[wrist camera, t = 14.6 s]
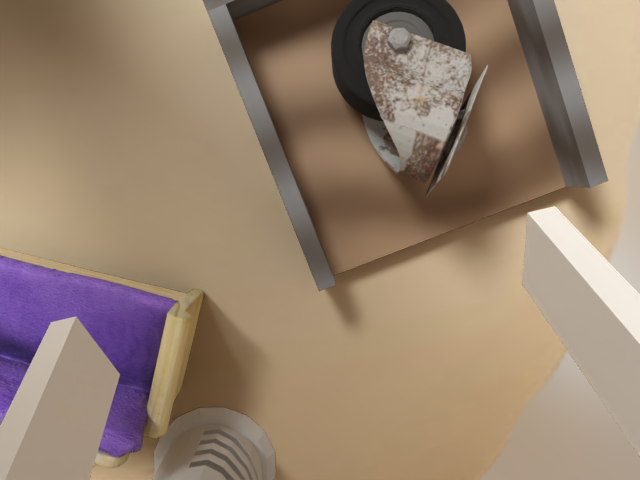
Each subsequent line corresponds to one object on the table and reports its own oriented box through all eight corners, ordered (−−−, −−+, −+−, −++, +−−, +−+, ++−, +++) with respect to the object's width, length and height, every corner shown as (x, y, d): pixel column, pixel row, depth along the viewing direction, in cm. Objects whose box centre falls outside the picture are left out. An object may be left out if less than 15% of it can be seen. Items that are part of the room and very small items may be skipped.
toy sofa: (214, 290, 35) (174, 336, 25) (189, 395, 37) (140, 479, 26) (-62, 220, 35) (-219, 238, 24) (-79, 329, 36) (-236, 390, 26)
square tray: (214, 15, 33) (199, -8, 28) (486, -97, 32) (512, -138, 28) (318, 277, 35) (319, 291, 31) (572, 180, 34) (608, 180, 30)
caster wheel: (358, 8, 34) (491, 55, 33) (298, 149, 33) (433, 201, 32) (362, -63, 27) (527, -7, 26) (286, 111, 26) (456, 176, 25)
